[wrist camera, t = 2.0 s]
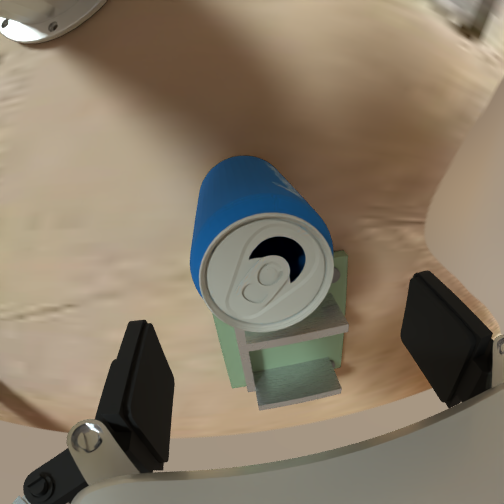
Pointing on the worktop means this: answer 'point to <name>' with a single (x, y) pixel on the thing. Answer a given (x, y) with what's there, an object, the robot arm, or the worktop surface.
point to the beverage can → (258, 248)
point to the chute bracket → (296, 375)
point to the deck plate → (291, 352)
